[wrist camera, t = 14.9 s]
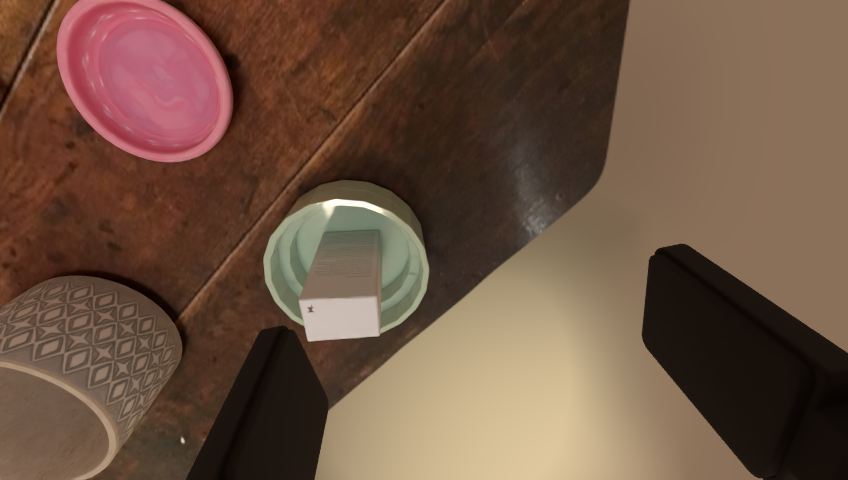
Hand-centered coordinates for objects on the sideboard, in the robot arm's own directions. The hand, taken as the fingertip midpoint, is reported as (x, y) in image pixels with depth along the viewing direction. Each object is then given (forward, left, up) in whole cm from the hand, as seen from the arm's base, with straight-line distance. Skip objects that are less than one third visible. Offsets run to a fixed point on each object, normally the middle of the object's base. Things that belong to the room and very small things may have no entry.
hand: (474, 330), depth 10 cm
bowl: (+9, +10, -28) cm, 31 cm away
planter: (+39, +14, -28) cm, 50 cm away
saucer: (+20, -9, -28) cm, 36 cm away
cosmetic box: (+9, +10, -28) cm, 31 cm away
